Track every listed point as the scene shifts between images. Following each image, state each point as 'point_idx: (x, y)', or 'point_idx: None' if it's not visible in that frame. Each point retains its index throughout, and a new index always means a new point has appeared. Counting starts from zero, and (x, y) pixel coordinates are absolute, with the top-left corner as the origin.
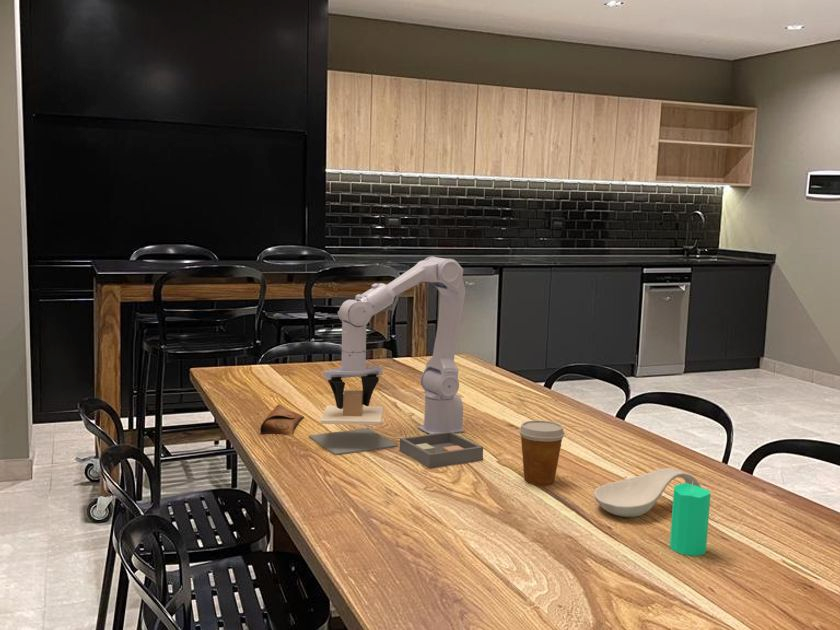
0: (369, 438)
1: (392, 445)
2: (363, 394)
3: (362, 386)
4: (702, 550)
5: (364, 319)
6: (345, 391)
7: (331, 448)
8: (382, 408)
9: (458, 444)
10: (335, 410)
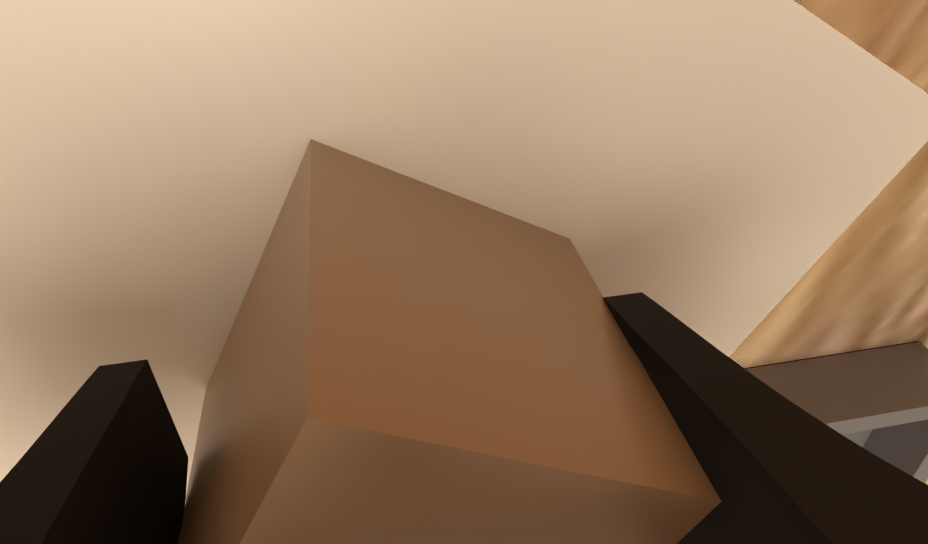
0: None
1: None
2: (691, 425)
3: (811, 531)
4: None
5: None
6: (285, 512)
7: None
8: (867, 197)
9: (878, 445)
10: (133, 79)
